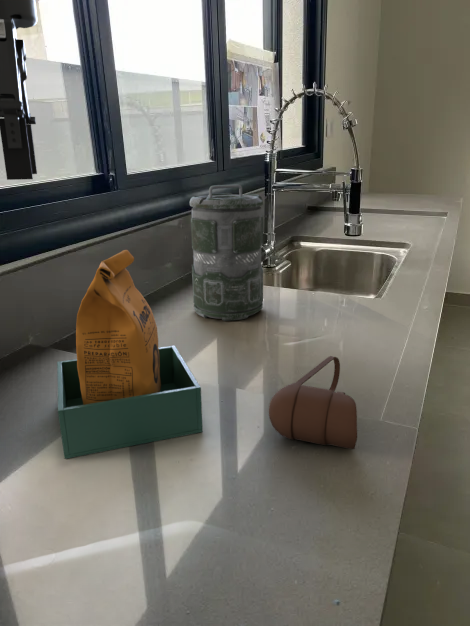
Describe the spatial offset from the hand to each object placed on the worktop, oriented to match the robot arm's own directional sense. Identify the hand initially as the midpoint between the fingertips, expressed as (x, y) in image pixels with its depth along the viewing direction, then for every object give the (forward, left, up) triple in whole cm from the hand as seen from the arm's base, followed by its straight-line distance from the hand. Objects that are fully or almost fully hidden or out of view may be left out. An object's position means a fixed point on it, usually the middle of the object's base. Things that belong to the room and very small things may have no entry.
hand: (23, 176), depth 63 cm
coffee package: (+9, -8, -32) cm, 34 cm away
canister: (+38, +32, -32) cm, 59 cm away
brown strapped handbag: (+35, -18, -32) cm, 51 cm away
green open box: (+10, -8, -32) cm, 34 cm away
